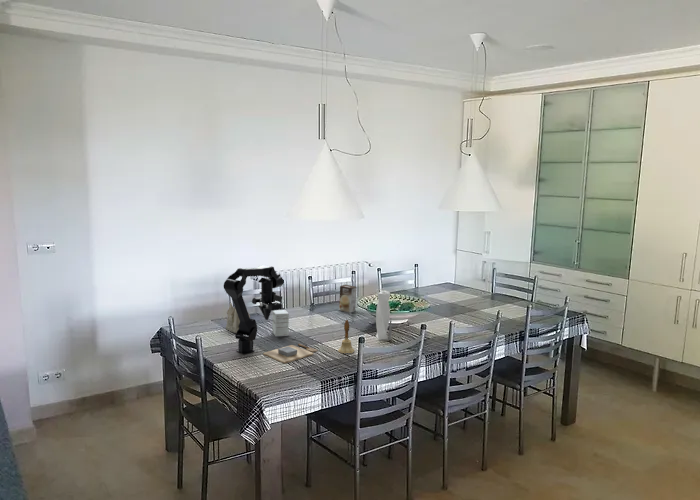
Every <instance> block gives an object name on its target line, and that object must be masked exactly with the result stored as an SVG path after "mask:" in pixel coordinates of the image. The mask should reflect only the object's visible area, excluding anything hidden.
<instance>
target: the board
mask: <svg viewBox="0 0 700 500" xmlns="http://www.w3.org/2000/svg"><path fill="white" fill-rule="evenodd" d="M287 346H288V347H291V348H293V349H296V350H297V354H295V355H292V356H289V357H287V356H284V355H282V354H280V353H278V349H280V348H284V347H287ZM287 346H283V347H279V348H275V349H273V350H269V351H265V352H263V355H264V356H266V357H268V358H271V359H273V360H275V361H278V362H280V363H282V364H287V363H291V362H294V361H297V360H300V359H304V358H307V357H310V356H313V355H314V352H310V351H308V350H306V349H305V348H301V347H300V346H299V347H298V346H296V345H294V344H290V345H287Z"/></svg>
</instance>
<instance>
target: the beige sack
mask: <svg viewBox="0 0 700 500" xmlns="http://www.w3.org/2000/svg"><path fill="white" fill-rule="evenodd" d="M232 303H233V302H230V303H229V307H228V309H227V311H226V314H227V318H226V324H225V330H226V331H228V330H229V332H231V333H234V334H236V333H237V331H238V329H239V323H240V320H239V317H238V314H237V312H236V309H235V307H234V304H232ZM248 314H249V312H248ZM249 317H250V318H251V315H250V314H249Z"/></svg>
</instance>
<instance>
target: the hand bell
mask: <svg viewBox="0 0 700 500" xmlns="http://www.w3.org/2000/svg"><path fill="white" fill-rule="evenodd" d="M343 326H344V327H343V328H344V339H342V341H341V345H340V347H339V348H338V350H337V351H338V352H339V353H340V354H343V353H344V354H343V355H346V354H345V353H351V354H354V353H355V352H354V351H355V348H353V346H352V341H351V339H350V338H349V332H350V322H349V320H347V319H346V320H345V321H344V325H343ZM353 352H354V353H353Z"/></svg>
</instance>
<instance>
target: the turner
mask: <svg viewBox="0 0 700 500" xmlns="http://www.w3.org/2000/svg"><path fill="white" fill-rule="evenodd" d="M297 345H298V346H299V347H300V348H301V347H302V348H303V349H305V350H307V351H309V352H312V353H316V352H318V349H316V348H313V347H309V346H306V345H304V344H301V343H298V344H297Z"/></svg>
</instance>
